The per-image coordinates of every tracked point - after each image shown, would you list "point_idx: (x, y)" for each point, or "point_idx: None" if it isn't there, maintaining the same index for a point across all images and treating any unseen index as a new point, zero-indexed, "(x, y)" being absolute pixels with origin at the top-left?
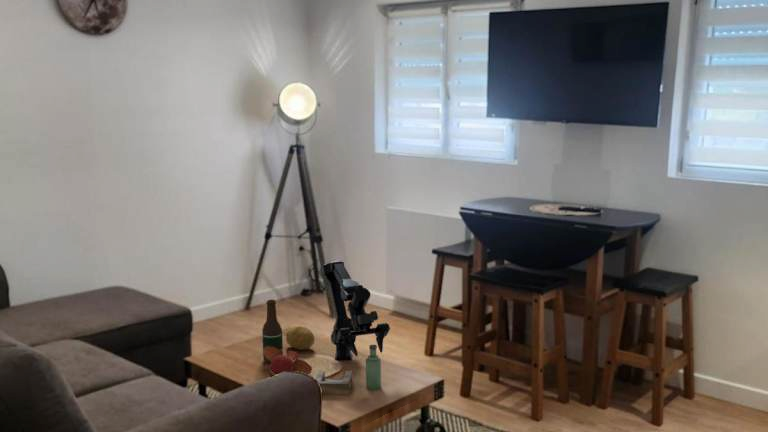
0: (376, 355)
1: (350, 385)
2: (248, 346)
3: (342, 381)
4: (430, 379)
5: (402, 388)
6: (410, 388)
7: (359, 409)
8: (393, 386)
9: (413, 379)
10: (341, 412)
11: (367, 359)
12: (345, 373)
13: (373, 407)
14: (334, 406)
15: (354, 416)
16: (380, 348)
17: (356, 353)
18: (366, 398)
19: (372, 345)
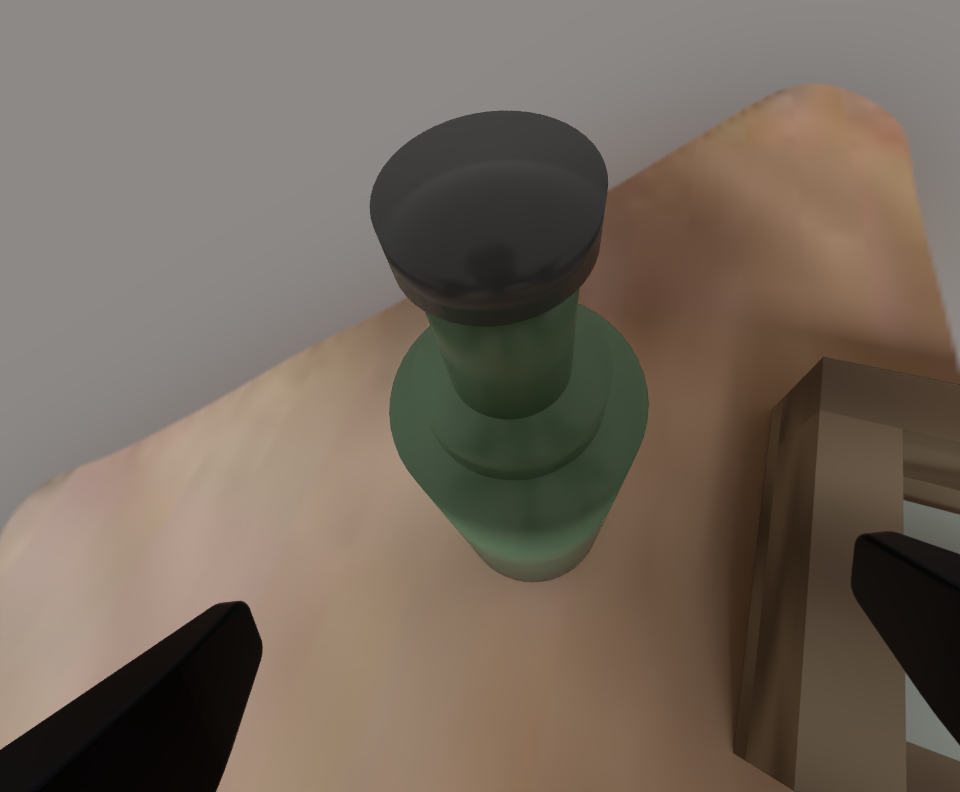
0: (434, 397)
1: (766, 552)
2: None
3: (904, 425)
4: (36, 545)
5: (319, 429)
6: (268, 415)
7: (694, 194)
8: (364, 486)
9: (143, 591)
10: (815, 176)
11: (611, 432)
12: (898, 700)
13: None
14: (878, 250)
15: (730, 131)
16: (200, 664)
17: (918, 543)
18: (628, 324)
19: (489, 222)
